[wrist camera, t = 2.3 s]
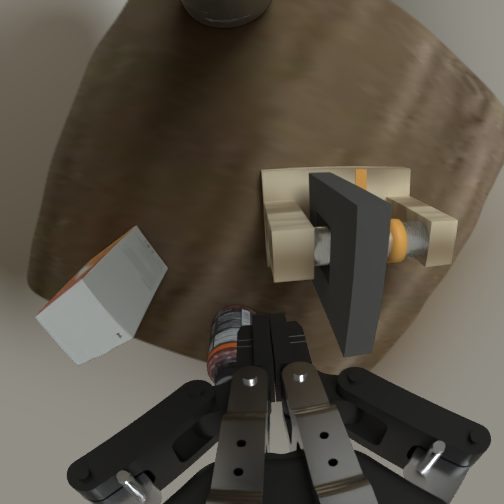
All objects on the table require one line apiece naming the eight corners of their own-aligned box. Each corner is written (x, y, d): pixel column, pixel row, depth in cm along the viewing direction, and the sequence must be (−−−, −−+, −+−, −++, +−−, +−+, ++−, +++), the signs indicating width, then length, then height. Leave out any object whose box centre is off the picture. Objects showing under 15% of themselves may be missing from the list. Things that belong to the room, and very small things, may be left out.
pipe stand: (261, 169, 29) (269, 189, 19) (403, 167, 29) (463, 186, 19) (266, 261, 33) (276, 317, 23) (398, 250, 33) (446, 294, 23)
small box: (136, 223, 31) (81, 277, 19) (169, 268, 33) (135, 340, 21) (90, 258, 32) (33, 317, 20) (121, 298, 35) (78, 368, 23)
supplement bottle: (263, 339, 37) (269, 408, 27) (217, 342, 37) (210, 411, 27) (259, 300, 35) (265, 367, 25) (209, 304, 35) (197, 371, 25)
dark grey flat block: (308, 172, 26) (357, 205, 14) (330, 172, 26) (391, 204, 14) (309, 274, 29) (343, 357, 18) (329, 272, 29) (371, 352, 18)
